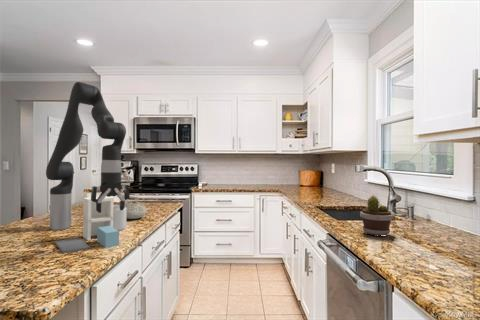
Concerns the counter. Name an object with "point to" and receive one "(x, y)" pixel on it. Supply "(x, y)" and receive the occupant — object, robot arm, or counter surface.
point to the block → (108, 236)
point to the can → (119, 218)
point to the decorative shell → (135, 209)
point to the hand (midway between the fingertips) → (110, 211)
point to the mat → (71, 245)
